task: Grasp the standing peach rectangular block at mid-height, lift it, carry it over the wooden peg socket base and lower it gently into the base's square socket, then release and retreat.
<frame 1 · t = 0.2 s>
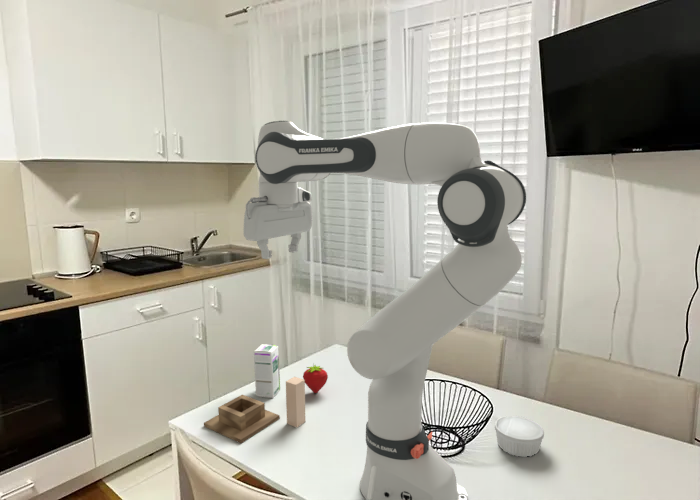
hand: (280, 255, 110), 47 cm above the table, fingers open, 8 cm apart
strawberry: (315, 393, 142), on the table
syrup box: (268, 393, 142), on the table
ramekin: (517, 447, 115), on the table
wooden peg socket base: (242, 422, 126), on the table
peach rectangular block: (296, 422, 126), on the table
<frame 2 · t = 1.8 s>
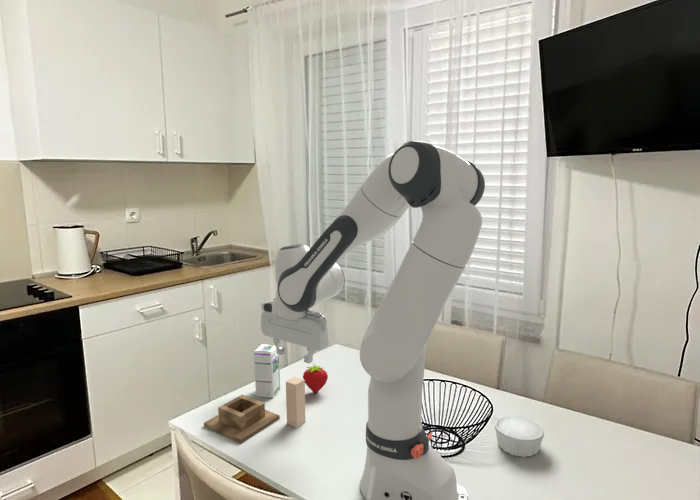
hand: (294, 357, 123), 18 cm above the table, fingers open, 8 cm apart
nothing on the table moved.
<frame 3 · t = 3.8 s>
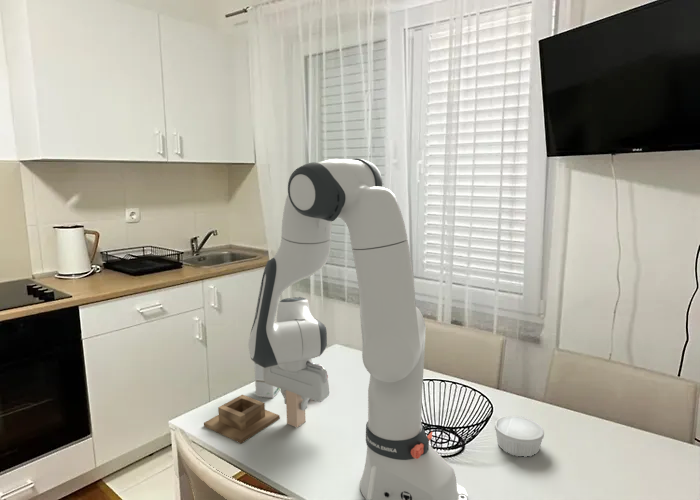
hand: (295, 406, 125), 5 cm above the table, fingers closed on peach rectangular block, 3 cm apart
peach rectangular block: (296, 422, 126), on the table, touching gripper
everything else where it was.
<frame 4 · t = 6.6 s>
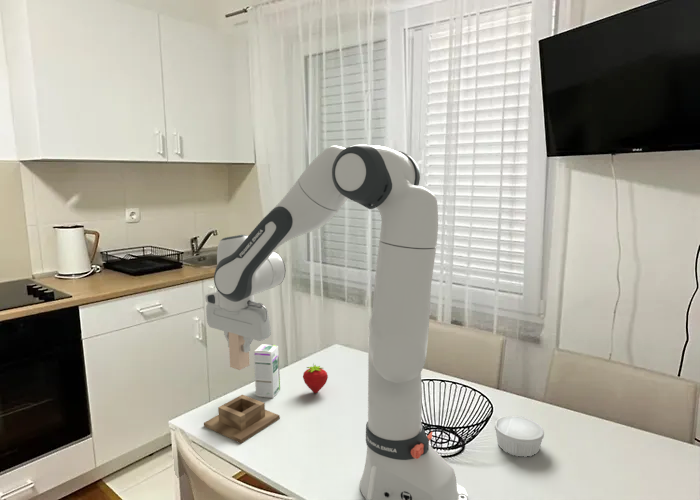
hand: (239, 349, 122), 21 cm above the table, fingers closed on peach rectangular block, 3 cm apart
peach rectangular block: (239, 366, 123), point 16 cm above the table, touching gripper
everything else where it was.
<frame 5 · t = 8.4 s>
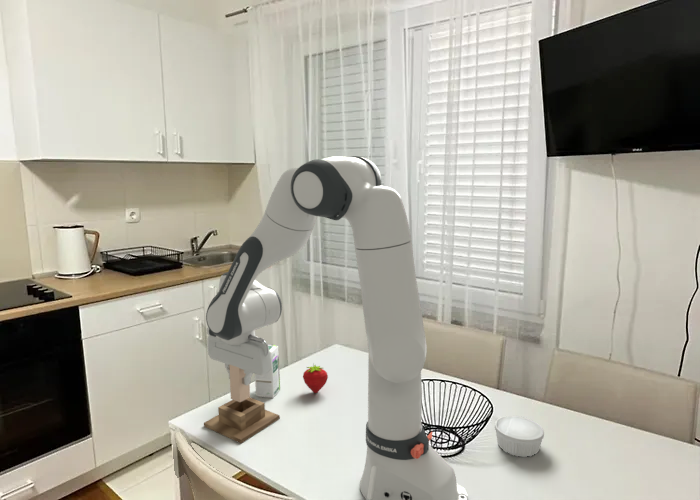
hand: (239, 381, 124), 12 cm above the table, fingers closed on peach rectangular block, 3 cm apart
peach rectangular block: (240, 397, 125), point 7 cm above the table, touching gripper
everything else where it was.
when the fingers open (7 cm above the table, at t = 9.9 s): peach rectangular block drops 1 cm, resting on wooden peg socket base.
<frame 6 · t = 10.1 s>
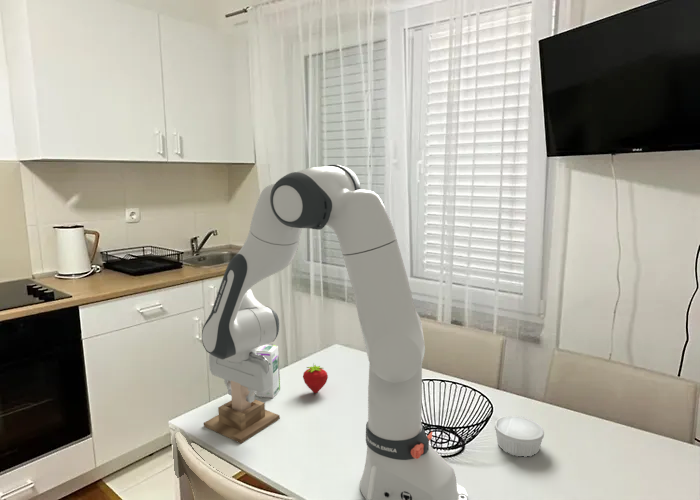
hand: (241, 397, 125), 7 cm above the table, fingers open, 5 cm apart
peach rectangular block: (242, 419, 126), point 1 cm above the table, touching wooden peg socket base
everything else where it was.
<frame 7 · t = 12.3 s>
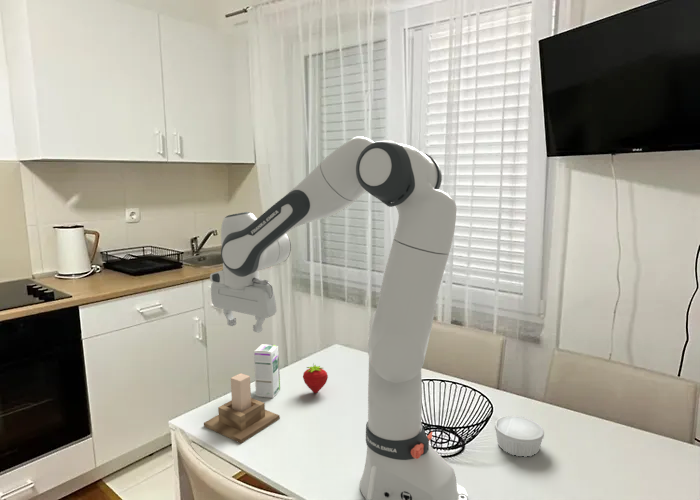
hand: (244, 328, 122), 26 cm above the table, fingers open, 8 cm apart
nothing on the table moved.
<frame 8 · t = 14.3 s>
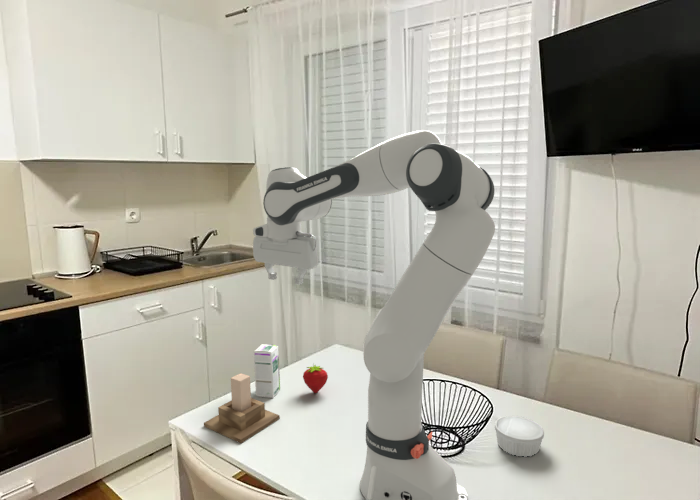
hand: (285, 281, 126), 37 cm above the table, fingers open, 8 cm apart
nothing on the table moved.
at the end: peach rectangular block 0.1 cm off-centre on the wooden peg socket base, point 1.0 cm above the wooden peg socket base's base; peach rectangular block tilted 0°; the gripper is holding nothing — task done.
